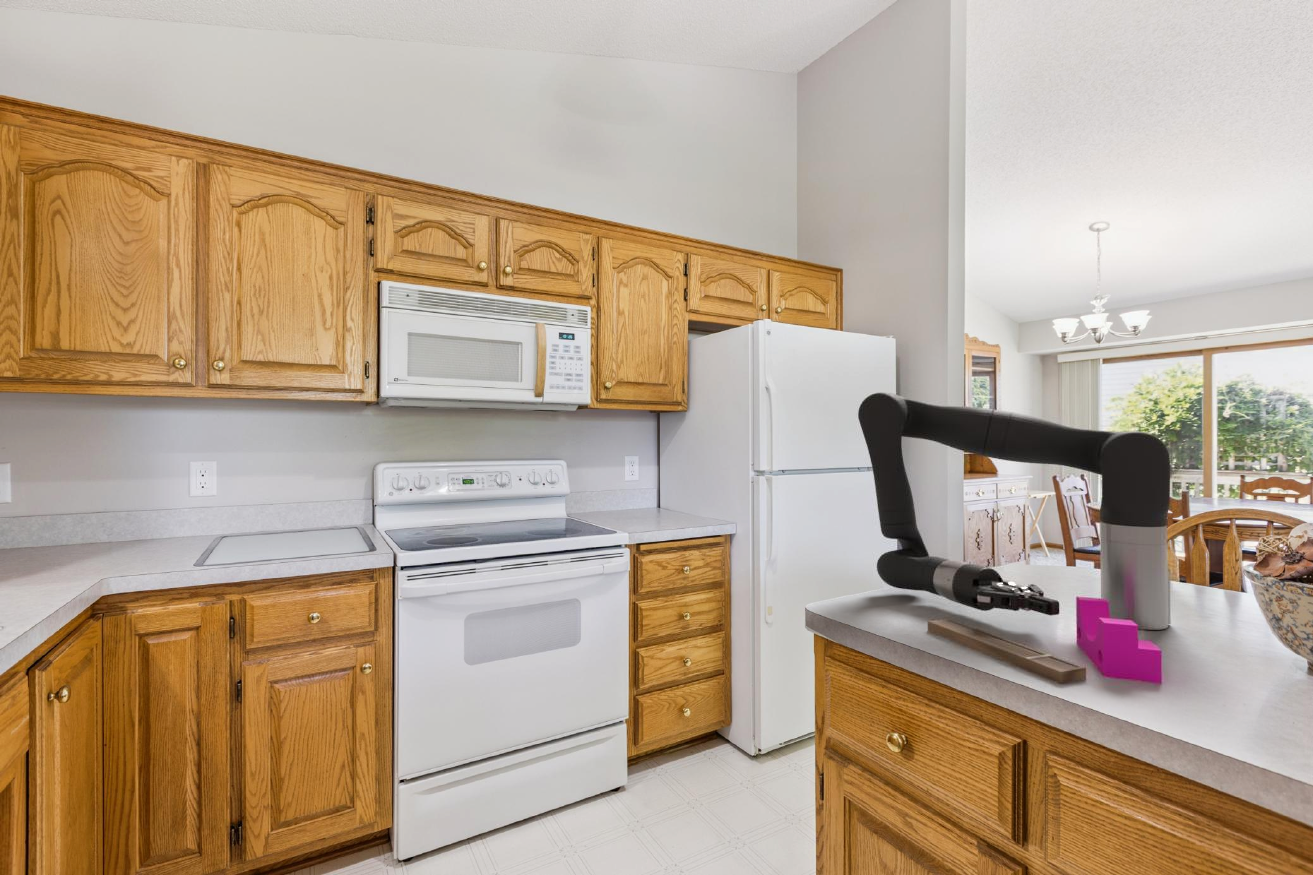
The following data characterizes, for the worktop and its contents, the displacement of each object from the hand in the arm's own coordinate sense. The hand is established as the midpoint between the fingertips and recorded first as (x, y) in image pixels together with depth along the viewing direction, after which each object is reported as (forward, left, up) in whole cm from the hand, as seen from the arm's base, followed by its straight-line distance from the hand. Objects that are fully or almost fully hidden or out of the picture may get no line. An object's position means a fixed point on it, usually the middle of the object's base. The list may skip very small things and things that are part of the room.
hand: (1055, 608), depth 96 cm
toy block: (-2, +7, -6) cm, 10 cm away
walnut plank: (+11, -1, -6) cm, 12 cm away
